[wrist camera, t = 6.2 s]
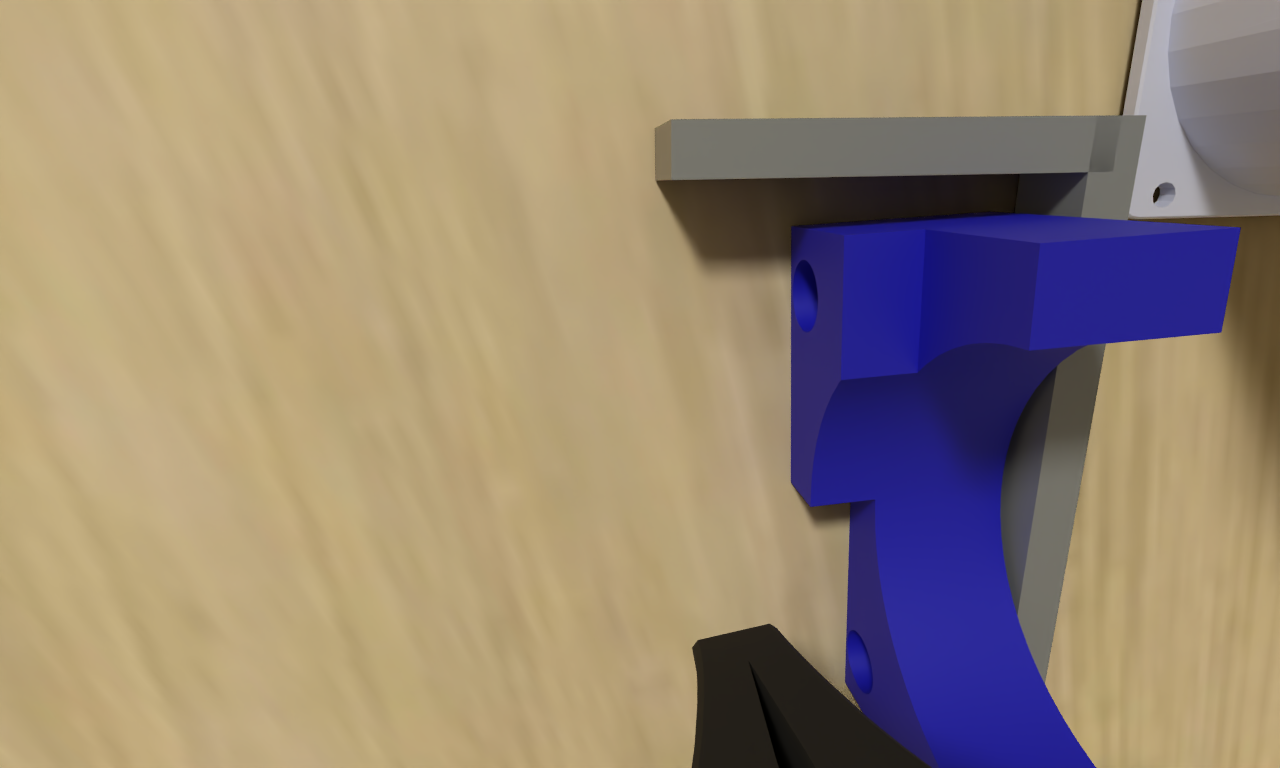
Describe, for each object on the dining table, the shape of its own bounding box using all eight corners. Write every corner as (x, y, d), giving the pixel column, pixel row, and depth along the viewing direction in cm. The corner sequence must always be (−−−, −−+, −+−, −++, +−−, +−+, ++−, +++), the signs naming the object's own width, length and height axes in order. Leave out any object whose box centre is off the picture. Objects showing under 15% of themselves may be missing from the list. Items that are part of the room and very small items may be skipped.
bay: (1069, 123, 15) (1146, 115, 13) (970, 787, 20) (1014, 851, 18) (654, 128, 14) (671, 119, 12) (662, 825, 19) (675, 898, 17)
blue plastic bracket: (788, 225, 15) (935, 251, 9) (983, 211, 15) (1241, 227, 10) (788, 684, 18) (894, 912, 13) (947, 662, 19) (1120, 872, 13)
